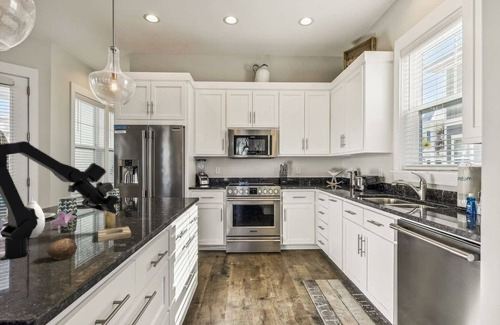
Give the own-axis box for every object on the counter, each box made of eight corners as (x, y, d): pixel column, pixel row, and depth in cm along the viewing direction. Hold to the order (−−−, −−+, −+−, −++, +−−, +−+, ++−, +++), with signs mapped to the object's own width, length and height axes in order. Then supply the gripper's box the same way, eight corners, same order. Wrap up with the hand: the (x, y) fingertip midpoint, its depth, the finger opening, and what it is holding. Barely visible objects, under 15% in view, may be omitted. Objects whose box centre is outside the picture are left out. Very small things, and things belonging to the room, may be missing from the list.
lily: (81, 227, 131) (74, 211, 132) (81, 222, 122) (73, 206, 123) (55, 238, 124) (47, 221, 125) (53, 234, 115) (45, 216, 116)
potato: (53, 244, 90) (57, 231, 88) (78, 250, 93) (82, 238, 91) (40, 263, 83) (44, 249, 81) (67, 268, 86) (71, 256, 84)
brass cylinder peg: (115, 228, 117) (115, 199, 117) (104, 229, 115) (104, 199, 115) (115, 225, 121) (115, 198, 121) (104, 227, 119) (104, 198, 119)
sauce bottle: (49, 235, 112) (48, 194, 112) (29, 241, 105) (29, 196, 104) (36, 234, 114) (35, 193, 114) (15, 239, 107) (15, 196, 107)
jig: (131, 237, 109) (131, 232, 109) (98, 241, 103) (97, 236, 103) (128, 230, 119) (128, 226, 119) (98, 234, 113) (98, 230, 113)
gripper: (114, 177, 110) (137, 199, 120) (88, 176, 119) (111, 197, 128) (96, 197, 103) (121, 220, 113) (70, 195, 112) (95, 216, 122)
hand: (112, 212), depth 119 cm, fingers closed on brass cylinder peg, 4 cm apart
